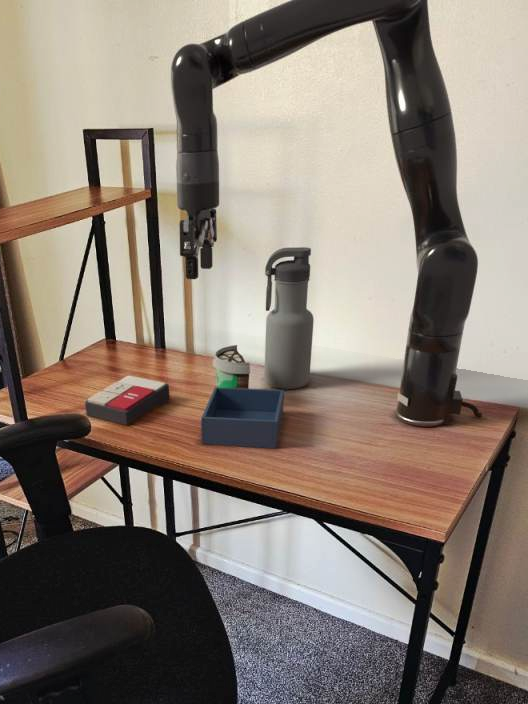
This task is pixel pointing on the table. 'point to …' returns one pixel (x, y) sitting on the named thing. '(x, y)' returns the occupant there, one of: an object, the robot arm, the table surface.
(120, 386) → the calculator
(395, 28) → the robot arm
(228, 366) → the food container
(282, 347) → the water bottle
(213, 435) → the tote
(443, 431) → the table surface
